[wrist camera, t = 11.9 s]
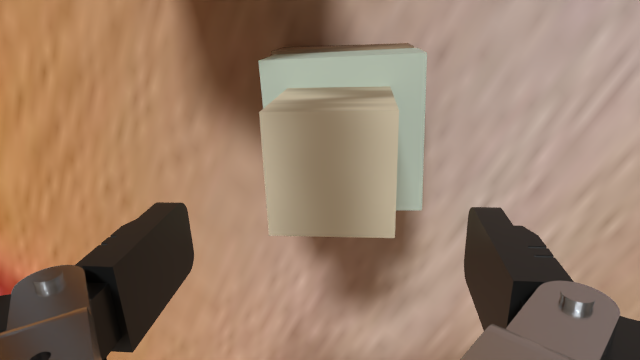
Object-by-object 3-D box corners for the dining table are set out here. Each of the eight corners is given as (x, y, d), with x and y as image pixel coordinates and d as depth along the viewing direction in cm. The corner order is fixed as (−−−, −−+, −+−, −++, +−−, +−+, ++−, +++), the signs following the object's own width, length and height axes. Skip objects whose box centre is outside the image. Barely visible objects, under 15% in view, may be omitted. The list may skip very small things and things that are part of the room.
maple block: (390, 86, 21) (398, 110, 15) (387, 183, 22) (394, 238, 17) (287, 88, 21) (259, 112, 16) (292, 183, 23) (269, 235, 17)
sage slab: (417, 47, 24) (427, 52, 20) (413, 183, 26) (421, 210, 23) (274, 54, 25) (258, 60, 21) (285, 185, 27) (273, 211, 24)
